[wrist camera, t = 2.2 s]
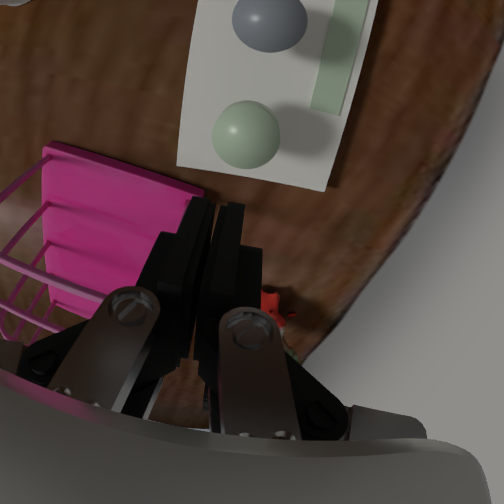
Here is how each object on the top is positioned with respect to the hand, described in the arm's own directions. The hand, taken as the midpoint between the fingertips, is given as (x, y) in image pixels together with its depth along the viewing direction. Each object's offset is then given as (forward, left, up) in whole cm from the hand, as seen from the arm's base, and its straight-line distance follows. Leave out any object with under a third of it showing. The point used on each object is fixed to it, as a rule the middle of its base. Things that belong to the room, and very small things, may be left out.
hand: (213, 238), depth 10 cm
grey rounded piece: (-8, 0, -15) cm, 17 cm away
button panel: (-8, +1, -18) cm, 19 cm away
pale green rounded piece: (0, 0, -15) cm, 15 cm away
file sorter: (+18, -14, -18) cm, 29 cm away
